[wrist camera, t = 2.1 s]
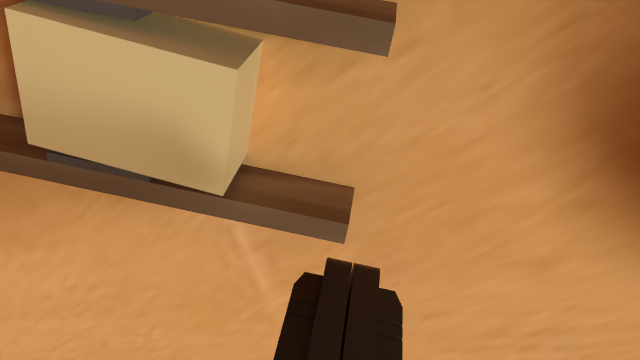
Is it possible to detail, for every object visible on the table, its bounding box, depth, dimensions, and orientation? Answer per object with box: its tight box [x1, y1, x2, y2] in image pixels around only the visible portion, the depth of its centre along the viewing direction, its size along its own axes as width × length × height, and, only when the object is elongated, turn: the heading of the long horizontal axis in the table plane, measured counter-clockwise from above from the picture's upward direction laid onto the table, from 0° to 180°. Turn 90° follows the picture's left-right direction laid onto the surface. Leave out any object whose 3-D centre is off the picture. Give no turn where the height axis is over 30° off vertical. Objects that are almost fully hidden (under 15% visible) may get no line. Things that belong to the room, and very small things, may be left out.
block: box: [4, 0, 263, 196], centre depth 21 cm, size 6×9×4 cm, turn 78°
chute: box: [0, 0, 397, 244], centre depth 21 cm, size 10×22×3 cm, turn 82°
